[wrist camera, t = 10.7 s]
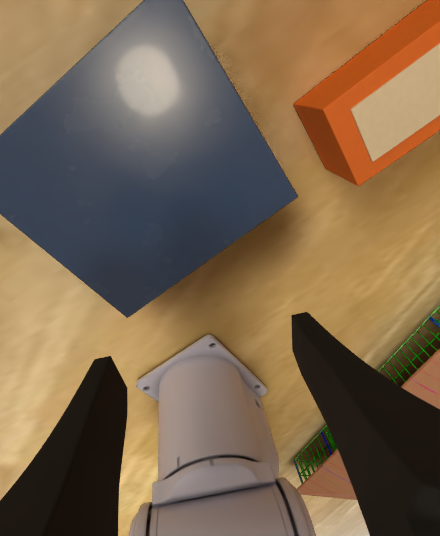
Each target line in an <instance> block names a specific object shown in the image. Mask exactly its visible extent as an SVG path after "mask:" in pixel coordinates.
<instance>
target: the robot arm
mask: <svg viewBox="0 0 440 536" xmlns="http://www.w3.org/2000/svg"><path fill="white" fill-rule="evenodd" d="M212 343H214V344H213V345H210V344H212ZM292 349H293V353H294V356H295V358H296V361H297V364H298V366H299V369H300V372H301V374H302V376H303V378H304V380H305V382H306V384H307V386H308V388H309V390H310V392H311V394H312V396H313V398H314V400H315V402H316V404H317V406H318V408H319V410H320V412H321V414H322V416H323V418H324V420H325V421H326V423H327V425H328V428H329V430H330V432H331V434H332V436H333V439H334V441H335V444H336V446H337V449H338V451H339V454H340V456H341V459H342V461H343V464H344V466H345V469H346V471H347V474H348V477H349V479H350V482H351V484H352V487H353V490H354V492H355V495H356V498H357V500H358V503H359V506H360V509H361V511H362V514H363V517H364V519H365V522H366V525H367V528H368V531H369V534H370V536H440V409H438V408H436V407H435V406H433V405H431V404H429V403H427V402H426V401H424V400H422V399H420V398H418V397H417V396H415V395H413V394H411V393H410V392H408V391H407V390H405V389H403V388H402V387H400V386H399V385H397V384H395V383H394V382H392V381H391V380H389V379H388V378H386V377H385V376H383V375H382V374H380V373H379V372H378V371H376V370H375V369H373V368H372V367H371V366H369V365H368V364H367V363H365V362H364V361H363V360H361V359H360V358H359V357H357V356H356V355H355V354H354V353H352V352H351V351H350V350H349V349H348V348H346V347H345V346H344V345H343V344H342V343H340V342H339V341H338V340H337V339H336V338H335V337H333V336H332V335H331V334H330V333H329V332H328V331H327V330H326V329H325V328H323V327H322V326H321V325H320V324H319V323H318V322H317V321H316V320H315V319H314V318H313V317H312V316H311V315H310V314H309V313H307V312H305V313H300V314H296V315H292ZM136 386H137V388H139V389H140V390H141V391H143V392H144V393H146V394H147V395H149V396H150V397H152V398H153V399H155V400H156V401H158V402H159V428H158V481H157V482H154V483H153V492H152V503H151V502H148V503H144V504H142V505H141V506H140V508H139V511H138V512H137V514H136V515H135V517H134V518H133V520H132V522H131V526H130V530H129V536H316V534H315V531H314V527H313V524H312V521H311V518H310V515H309V513H308V510H307V508H306V505H305V503H304V501H303V499H302V497H301V495H300V493H299V492H298V490H297V489H296V488H295V487H294V486H293V485H291V484H290V482H289V481H288V480H287V479H286V478H283V477H281V478H278V473H279V459H278V454H277V451H276V447H275V444H274V441H273V438H272V435H271V431H270V428H269V425H268V422H267V419H266V415H265V412H264V409H263V406H262V403H261V399H260V397H261V396H263V395H265V394H266V393H267V392H268V390H267V387H266V386H265V385H264V384H263V383H262V382H261V381H260V380H259V379H258V378H257V377H256V376H255V375H254V374H253V373H252V372H250V371H249V370H248V369H247V368H246V367H245V366H244V365H243V364H242V363H241V362H240V361H239V360H238V359H237V358H236V357H235V356H234V355H233V354H232V353H231V352H230V351H228V350H227V349H226V348H225V347H224V346H223V345H222V344H221V343H220V342H219V341H218V340H217V339H216V338H215V337H214V336H212V335H206V336H204V337H202V338H201V339H199V340H198V341H196V342H195V343H193V344H192V345H190V346H189V347H187V348H186V349H184V350H183V351H181V352H180V353H178V354H177V355H175V356H174V357H172V358H171V359H169V360H168V361H166V362H164V363H163V364H161V365H160V366H158V367H157V368H155V369H154V370H152V371H151V372H149V373H148V374H146V375H145V376H143V377H142V378H140V379H139V380H138V381H137V384H136ZM146 386H148V387H146ZM126 421H127V387H126V385H125V383H124V381H123V379H122V377H121V375H120V373H119V371H118V369H117V367H116V365H115V364H114V362H113V360H112V358H111V356H108V357H104V358H99V359H95V360H94V361H93V363H92V365H91V367H90V368H89V370H88V372H87V374H86V376H85V378H84V379H83V381H82V383H81V385H80V387H79V388H78V390H77V392H76V394H75V395H74V397H73V399H72V400H71V402H70V404H69V405H68V407H67V409H66V411H65V412H64V414H63V416H62V417H61V419H60V420H59V422H58V423H57V425H56V427H55V428H54V430H53V431H52V433H51V434H50V436H49V437H48V439H47V440H46V442H45V443H44V445H43V446H42V448H41V449H40V450H39V452H38V453H37V455H36V456H35V457H34V459H33V460H32V462H31V463H30V464H29V466H28V467H27V468H26V470H25V471H24V472H23V473H22V475H21V476H20V477H19V479H18V480H17V481H16V482H15V484H14V485H13V486H12V487H11V488H10V490H9V491H8V492H7V493H6V495H5V496H4V497H3V498H2V499H1V501H0V536H118V503H119V482H120V472H121V463H122V455H123V447H124V439H125V430H126Z"/></svg>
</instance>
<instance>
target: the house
mask: <svg viewBox="0 0 440 536" xmlns="http://www.w3.org/2000/svg"><path fill="white" fill-rule="evenodd" d="M439 308H440V306H439V307H438V308H437V309H436V310H435V311H434V312H433V313H432V314H431V315H430V316H429V317H428V318H427V319H426V321H427V320H428V319H430V320H431V321H432V322H434V323H435V324H436V325H437V326H438V327H439V328H440V323H439V322H440V321H439V320H437V319H435V318H432V317H431V316H432V315H433V314H434V313H435V312H438V311H437V310H438V309H439ZM438 313H439V312H438ZM439 314H440V313H439ZM426 321H425V322H424V323H423V324H422V325H421V326H420V327H419V328H418V329H417V330H416V331H415V332H414V333H413V334H412V335H411V336H410V337H409V338H408V340H409V339H410V338H412V336H413V335H414V334H415V333H416V332H418V330H419V329H420V328H421V327H422V326H424V327H426V326H425V325H424V324H425V323H426ZM426 328H427V327H426ZM427 329H428V328H427ZM428 330H429V329H428ZM429 331H430V330H429ZM430 332H431V331H430ZM418 333H419V332H418ZM431 333H432V332H431ZM419 334H420V333H419ZM432 334H433V333H432ZM439 334H440V332H439V333H438V334H437V335H436V336H435V335H434V334H433V335H434V336H435V338H434V339H433V340H432V341H431V342H430V343H429V342H428V341H427V340H426V339H425V338H424V337H423V336H422V335H421V334H420V335H421V336H422V337H423V338H424V339H425V340H426V341H427V342H428V343H429V344H430V345H431V343H432V342H433V341H434V340H435V339H436V338H437V339H438V340H439V341H440V339H439V338H438V337H437V336H438V335H439ZM412 339H413V338H412ZM408 340H407V341H408ZM413 340H414V339H413ZM407 341H406V342H405V343H404V344H403V345H402V346H401V347H400V348H399V349H398V350H397V351H396V352H395V353H394V354H393V355H392V356H391V358H392V357H393V356H394V357H395V358H396V359H397V357H396V356H395V354H396V353H397V352H398V351H399V350H400V349H401V348H402V347H403V346H404V345H405V344H406V343H407ZM414 341H415V340H414ZM415 342H416V341H415ZM416 343H417V342H416ZM429 344H428V345H429ZM406 345H407V344H406ZM417 345H418V346H419V347H420V348H421V349H422V351H421V352H420V353H419V354H418V355H416V354H415V353H414V352H413V350H412V349H411V348H410V347H409V346H408V345H407V346H408V348H409V349H410V350H411V351H412V352H413V353H414V354H415V355H416V357H418V356H419V355H420V354H421V353H422V352H423V351H424V352H425V353H426V354H427V355H428V353H427V352H426V351H425V350H424V349H425V348H426V347H427V346H428V345H427V346H426V347H425V348H424V349H423V348H422V347H421V346H420V345H419V344H418V343H417ZM431 346H432V345H431ZM432 347H433V346H432ZM433 348H434V347H433ZM434 349H435V350H436V352H435V353H434V354H433V355H432V356H431V357H430V356H429V355H428V356H429V357H430V358H429V359H428V360H427V361H426V362H425V363H424V362H423V361H422V360H421V359H420V358H419V357H418V358H419V359H420V361H421V362H422V363H423V365H422V366H421V367H420V368H419V369H417V368H416V367H415V365H414V364H413V363H412V361H413V360H414V359H415V358H416V357H415V358H414V359H413V360H412V361H410V360H409V359H408V358H407V356H406V355H405V354H404V353H403V352H402V351H401V350H400V351H401V352H402V353H403V355H404V356H405V357H406V358H407V359H408V360H409V361H410V363H409V364H408V366H409V365H410V364H412V365H413V366H414V367H415V368H416V369H417V371H416V372H415V373H414V374H413V375H411V374H410V373H409V372H408V370H407V369H406V368H407V367H408V366H407V367H406V368H405V367H404V366H403V365H402V363H401V362H400V361H399V360H398V359H397V360H398V361H399V362H400V364H401V365H402V366H403V367H404V369H405V370H406V371H407V372H408V373H409V374H410V376H411V377H410V378H409V379H408V380H407V381H405V380H404V379H403V377H402V376H401V375H400V373H401V372H402V371H403V370H404V369H403V370H402V371H401V372H400V373H398V371H397V370H396V369H395V368H394V366H393V365H392V364H391V363H390V361H389V360H390V359H391V358H390V359H389V360H388V361H387V362H386V363H385V364H384V365H383V366H382V367H381V368H380V369H379V370H378V372H379V371H380V370H381V369H382V368H384V366H385V365H386V364H387V363H388V362H389V363H390V364H391V365H392V367H393V368H394V369H395V370H396V372H397V373H398V374H399V375H400V377H401V378H402V379H403V380H404V382H405V383H404V384H403V385H402V386H401V387H402V388H403V389H405V390H407V391H408V392H410V393H411V394H413V395H415V396H417V397H418V398H420V399H422V400H424V401H426V402H427V403H429V404H431V405H433V406H435V407H436V408H438V409H440V349H439V350H437V349H436V348H434ZM384 369H385V368H384ZM385 370H386V369H385ZM386 372H387V373H388V371H387V370H386ZM388 374H389V373H388ZM399 375H398V376H399ZM389 376H390V377H391V375H390V374H389ZM398 376H397V377H398ZM397 377H396V378H397ZM391 378H392V377H391ZM396 378H395V379H396ZM392 379H393V378H392ZM395 379H393V380H392V382H393V381H394V382H395ZM395 383H396V382H395ZM396 384H397V383H396ZM397 385H398V384H397ZM327 426H328V425H326V426H325V427H324V428H323V429H322V430H321V431H320V433H321V435H322V437H323V439H324V441H325V443H326V446H327V447H326V448H328V450H329V452H330V454H331V456H330V457H329V458H328V459H327V457H326V455H325V453H324V450H325V449H326V448H325V449H324V450H323V448H322V446H321V443H320V441H319V439H318V437H317V436H318V435H319V434H320V433H319V434H318V435H317V436H316V437H317V439H318V441H319V444H320V446H321V448H322V452H321V453H320V454H319V453H318V450H317V448H316V446H315V443H314V441H313V440H314V439H315V438H316V437H315V438H314V439H313V440H312V441H311V442H310V443H309V444H308V445H307V446H306V447H305V448H304V449H303V451H304V450H305V452H306V448H307V447H308V446H309V448H310V444H311V443H312V442H313V444H314V446H315V448H316V451H317V453H318V456H319V458H320V455H321V454H322V453H324V455H325V458H326V461H325V462H324V463H323V462H322V460H321V458H320V460H321V463H317V462H316V460H315V459H316V458H317V457H318V456H317V457H316V458H315V457H314V455H313V452H312V450H311V448H310V450H311V453H312V455H313V458H314V460H313V462H310V459H309V457H308V454H307V452H306V454H307V457H308V459H309V462H308V461H304V458H303V455H302V452H303V451H302V452H301V453H300V454H301V455H302V458H303V461H301V460H299V459H298V456H299V455H300V454H299V455H298V456H297V457H296V458H297V459H298V460H295V459H296V458H295V459H294V463H295V466H296V469H297V471H298V474H299V477H300V480H301V483H302V484H301V485H300V486H299V487H298V488H297V490H298V492H299V493H300V494H303V495H313V496H323V497H333V498H343V499H353V500H357V498H356V495H355V492H354V490H353V487H352V484H351V482H350V479H349V477H348V474H347V471H346V469H345V466H344V464H343V461H342V459H341V456H340V454H339V451H338V449H337V447H336V445H335V443H334V440H333V438H332V436H331V433H330V432H329V430H328V428H327ZM325 428H327V430H328V432H326V431H325ZM323 430H324V431H323ZM323 432H324V433H326V435H327V434H328V433H329V434H330V436H329V434H328V435H327V437H328V436H329V437H328V440H329V442H330V444H328V442H327V440H326V438H325V436H324V434H323ZM330 437H331V438H330ZM329 438H330V439H329ZM331 439H332V440H331ZM331 443H332V444H331ZM333 443H334V444H333ZM330 445H331V446H330ZM332 445H333V446H332ZM334 445H335V446H334ZM330 447H332V448H333V450H334V449H335V450H334V453H332V451H331V449H330ZM336 449H337V450H336ZM296 461H298V462H299V464H300V463H301V462H304V463H305V466H306V469H307V468H308V466H309V465H311V467H312V470H313V472H314V473H313V474H312V475H311V473H310V471H309V468H308V469H307V472H308V474H309V475H306V474H305V470H306V469H305V470H304V468H303V466H302V463H301V464H300V467H301V466H302V467H301V470H302V469H303V470H302V472H301V473H303V475H300V474H301V473H300V472H299V469H298V466H297V463H296ZM314 461H315V462H314ZM306 462H308V463H310V464H309V465H307V463H306ZM312 463H315V464H316V466H317V468H318V469H317V470H316V471H314V468H313V465H312ZM317 464H321V466H320V467H318V465H317ZM304 474H305V475H304ZM301 476H304V478H305V477H306V476H309V478H307V477H306V478H305V481H304V482H303V480H302V477H301Z"/></svg>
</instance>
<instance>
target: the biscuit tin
mask: <svg viewBox="0 0 440 536" xmlns="http://www.w3.org/2000/svg"><path fill="white" fill-rule="evenodd" d="M297 197H298V195H297V194H296V192H295V190H294V188H293V187H292V185H291V183H290V182H289V180H288V178H287V177H286V175H285V173H284V171H283V170H282V168H281V166H280V165H279V163H278V161H277V160H276V158H275V156H274V154H273V153H272V151H271V149H270V148H269V146H268V144H267V142H266V141H265V139H264V137H263V136H262V134H261V132H260V131H259V129H258V127H257V125H256V124H255V122H254V120H253V119H252V117H251V115H250V114H249V112H248V110H247V108H246V107H245V105H244V103H243V102H242V100H241V98H240V96H239V95H238V93H237V91H236V90H235V88H234V86H233V85H232V83H231V81H230V79H229V78H228V76H227V74H226V73H225V71H224V69H223V68H222V66H221V64H220V62H219V61H218V59H217V57H216V56H215V54H214V52H213V50H212V49H211V47H210V45H209V44H208V42H207V40H206V39H205V37H204V35H203V33H202V32H201V30H200V28H199V27H198V25H197V23H196V22H195V20H194V18H193V16H192V15H191V13H190V11H189V10H188V8H187V6H186V4H185V3H184V1H183V0H144V1H143V2H142V3H140V4H139V5H138V6H137V7H136V8H135V9H134V10H133V11H132V12H131V13H130V14H129V15H128V16H127V17H125V18H124V19H123V20H122V21H121V22H120V23H119V24H118V25H117V26H116V27H115V28H114V29H113V30H112V31H111V32H109V33H108V34H107V35H106V36H105V37H104V38H103V39H102V40H101V41H100V42H99V43H98V44H97V45H96V46H95V47H93V48H92V49H91V50H90V51H89V52H88V53H87V54H86V55H85V56H84V57H83V58H82V59H81V60H80V61H79V62H77V63H76V64H75V65H74V66H73V67H72V68H71V69H70V70H69V71H68V72H67V73H66V74H65V75H64V76H63V77H61V78H60V79H59V80H58V81H57V82H56V83H55V84H54V85H53V86H52V87H51V88H50V89H49V90H48V91H47V92H45V93H44V94H43V95H42V96H41V97H40V98H39V99H38V100H37V101H36V102H35V103H34V104H33V105H32V106H31V107H29V108H28V109H27V110H26V111H25V112H24V113H23V114H22V115H21V116H20V117H19V118H18V119H17V120H16V121H15V122H13V123H12V124H11V125H10V126H9V127H8V128H7V129H6V130H5V131H4V132H3V133H2V134H1V135H0V214H1V215H2V216H3V217H5V218H6V219H7V220H8V221H9V222H11V223H12V224H13V225H14V226H16V227H17V228H18V229H19V230H20V231H22V232H23V233H24V234H25V235H27V236H28V237H29V238H30V239H31V240H33V241H34V242H35V243H36V244H38V245H39V246H40V247H41V248H42V249H44V250H45V251H46V252H47V253H49V254H50V255H51V256H52V257H53V258H55V259H56V260H57V261H58V262H60V263H61V264H62V265H63V266H65V267H66V268H67V269H68V270H69V271H71V272H72V273H73V274H74V275H76V276H77V277H78V278H79V279H80V280H82V281H83V282H84V283H85V284H87V285H88V286H89V287H90V288H91V289H93V290H94V291H95V292H96V293H98V294H99V295H100V296H101V297H102V298H104V299H105V300H106V301H107V302H109V303H110V304H111V305H112V306H113V307H115V308H116V309H117V310H118V311H120V312H121V313H122V314H123V315H124V316H126V317H127V318H128V317H130V316H131V315H132V314H134V313H135V312H137V311H138V310H139V309H141V308H142V307H144V306H145V305H146V304H148V303H149V302H151V301H152V300H154V299H155V298H156V297H158V296H159V295H161V294H162V293H163V292H165V291H166V290H168V289H169V288H170V287H172V286H173V285H175V284H176V283H177V282H179V281H180V280H182V279H183V278H185V277H186V276H187V275H189V274H190V273H192V272H193V271H194V270H196V269H197V268H199V267H200V266H201V265H203V264H204V263H206V262H207V261H208V260H210V259H211V258H213V257H214V256H216V255H217V254H218V253H220V252H221V251H223V250H224V249H225V248H227V247H228V246H230V245H231V244H232V243H234V242H235V241H237V240H238V239H239V238H241V237H242V236H244V235H245V234H247V233H248V232H249V231H251V230H252V229H254V228H255V227H256V226H258V225H259V224H261V223H262V222H263V221H265V220H266V219H268V218H269V217H270V216H272V215H273V214H275V213H276V212H278V211H279V210H280V209H282V208H283V207H285V206H286V205H287V204H289V203H290V202H292V201H293V200H294V199H296V198H297Z"/></svg>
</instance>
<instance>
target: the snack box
mask: <svg viewBox="0 0 440 536" xmlns="http://www.w3.org/2000/svg"><path fill="white" fill-rule="evenodd" d="M294 107H295V109H296V111H297V113H298V115H299V117H300V119H301V121H302V123H303V125H304V127H305V129H306V131H307V133H308V135H309V136H310V138H311V140H312V142H313V144H314V146H315V148H316V150H317V152H318V154H319V156H320V158H321V160H322V162H323V164H324V166H325V168H326V169H327V170H329V171H331V172H333V173H335V174H336V175H338V176H340V177H342V178H344V179H346V180H348V181H349V182H351V183H353V184H355V185H357V186H359V185H361V184H362V183H364V182H365V181H367V180H368V179H370V178H371V177H373V176H374V175H375V174H377V173H378V172H380V171H381V170H383V169H384V168H386V167H387V166H388V165H390V164H391V163H393V162H394V161H396V160H397V159H399V158H400V157H402V156H403V155H404V154H406V153H407V152H409V151H410V150H412V149H413V148H415V147H416V146H418V145H419V144H420V143H422V142H423V141H425V140H426V139H428V138H429V137H431V136H432V135H433V134H435V133H436V132H438V131H439V130H440V0H427V1H426V2H424V3H423V4H422V5H421V6H419V7H418V8H417V9H415V10H414V11H413V12H411V13H410V14H409V15H408V16H406V17H405V18H404V19H402V20H401V21H400V22H399V23H397V24H396V25H395V26H393V27H392V28H391V29H390V30H388V31H387V32H386V33H384V34H383V35H382V36H380V37H379V38H378V39H377V40H375V41H374V42H373V43H371V44H370V45H369V46H368V47H366V48H365V49H364V50H362V51H361V52H360V53H359V54H357V55H356V56H355V57H353V58H352V59H351V60H350V61H348V62H347V63H346V64H344V65H343V66H342V67H340V68H339V69H338V70H337V71H335V72H334V73H333V74H331V75H330V76H329V77H328V78H326V79H325V80H324V81H322V82H321V83H320V84H319V85H317V86H316V87H315V88H313V89H312V90H311V91H310V92H308V93H307V94H306V95H304V96H303V97H302V98H300V99H299V100H298V101H297V102H295V103H294Z"/></svg>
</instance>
